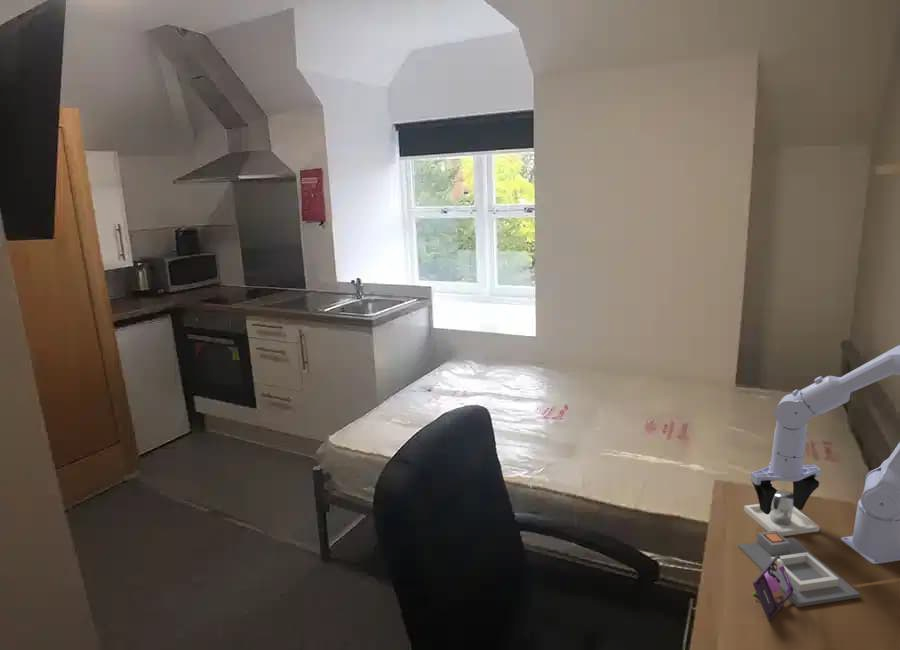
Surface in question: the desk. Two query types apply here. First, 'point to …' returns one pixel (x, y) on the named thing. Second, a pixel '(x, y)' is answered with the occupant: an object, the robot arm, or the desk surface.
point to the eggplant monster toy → (771, 587)
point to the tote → (797, 525)
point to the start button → (773, 538)
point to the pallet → (799, 571)
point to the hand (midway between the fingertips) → (781, 509)
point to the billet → (782, 508)
